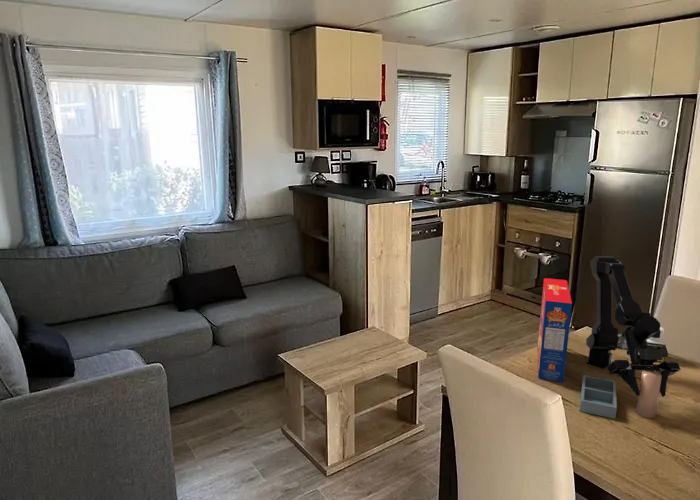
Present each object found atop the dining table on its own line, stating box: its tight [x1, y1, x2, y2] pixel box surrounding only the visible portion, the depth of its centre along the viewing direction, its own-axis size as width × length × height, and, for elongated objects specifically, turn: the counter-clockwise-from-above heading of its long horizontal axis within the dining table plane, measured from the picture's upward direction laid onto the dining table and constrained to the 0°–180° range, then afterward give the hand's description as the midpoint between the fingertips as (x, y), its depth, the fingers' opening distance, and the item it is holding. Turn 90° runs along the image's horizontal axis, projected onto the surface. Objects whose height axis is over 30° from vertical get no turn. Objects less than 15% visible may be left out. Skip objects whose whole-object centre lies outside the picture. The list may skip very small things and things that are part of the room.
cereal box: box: [537, 277, 573, 383], centre depth 182 cm, size 28×8×28 cm, turn 161°
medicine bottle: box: [647, 326, 667, 363], centre depth 189 cm, size 7×7×12 cm
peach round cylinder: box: [635, 370, 662, 419], centre depth 150 cm, size 5×5×13 cm
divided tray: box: [579, 374, 618, 420], centre depth 159 cm, size 18×10×4 cm, turn 154°
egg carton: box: [616, 333, 628, 350], centre depth 201 cm, size 11×8×4 cm
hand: (651, 395), depth 149 cm, fingers open, 7 cm apart
